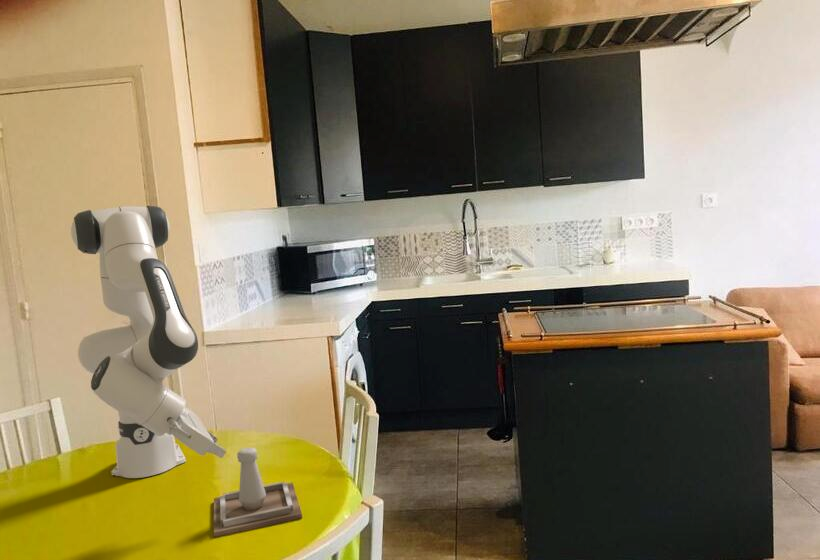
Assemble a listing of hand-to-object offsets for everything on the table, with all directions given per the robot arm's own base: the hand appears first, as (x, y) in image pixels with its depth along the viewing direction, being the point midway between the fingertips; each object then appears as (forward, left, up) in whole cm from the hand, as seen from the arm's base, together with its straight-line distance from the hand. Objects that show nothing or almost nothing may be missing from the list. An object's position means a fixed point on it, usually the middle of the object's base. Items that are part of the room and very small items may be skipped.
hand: (219, 447), depth 145 cm
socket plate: (-1, +6, -16) cm, 17 cm away
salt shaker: (-1, +5, -15) cm, 16 cm away
